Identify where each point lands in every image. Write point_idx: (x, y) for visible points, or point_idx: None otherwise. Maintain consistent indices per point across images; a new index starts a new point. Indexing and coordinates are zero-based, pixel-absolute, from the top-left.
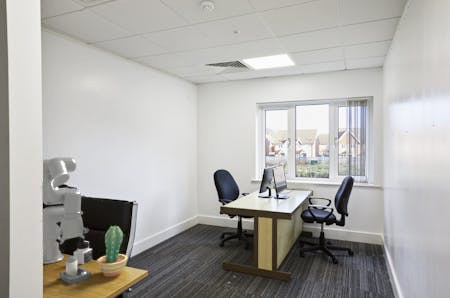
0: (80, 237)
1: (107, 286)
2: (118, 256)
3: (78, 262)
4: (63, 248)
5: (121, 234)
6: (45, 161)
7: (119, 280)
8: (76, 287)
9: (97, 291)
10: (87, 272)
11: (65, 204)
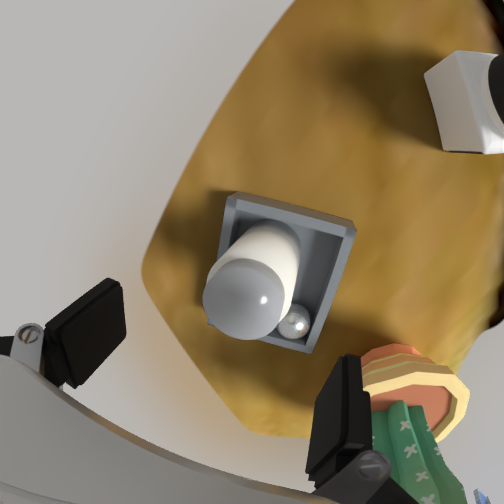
0: (327, 476)
1: (284, 415)
2: (450, 407)
3: (438, 107)
4: (108, 354)
5: None
6: None
7: None
8: (223, 337)
9: (242, 408)
10: (309, 334)
11: None
